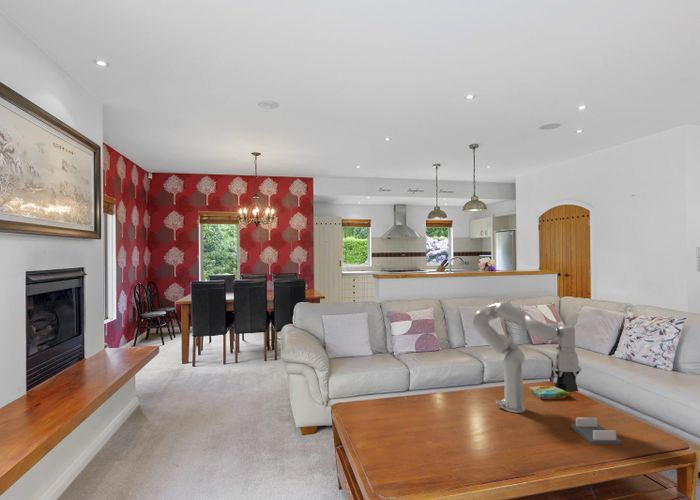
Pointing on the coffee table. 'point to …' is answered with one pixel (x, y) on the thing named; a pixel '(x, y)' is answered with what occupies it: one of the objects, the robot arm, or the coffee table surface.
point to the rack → (595, 432)
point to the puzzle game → (549, 392)
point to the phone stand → (567, 382)
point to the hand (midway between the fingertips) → (566, 383)
